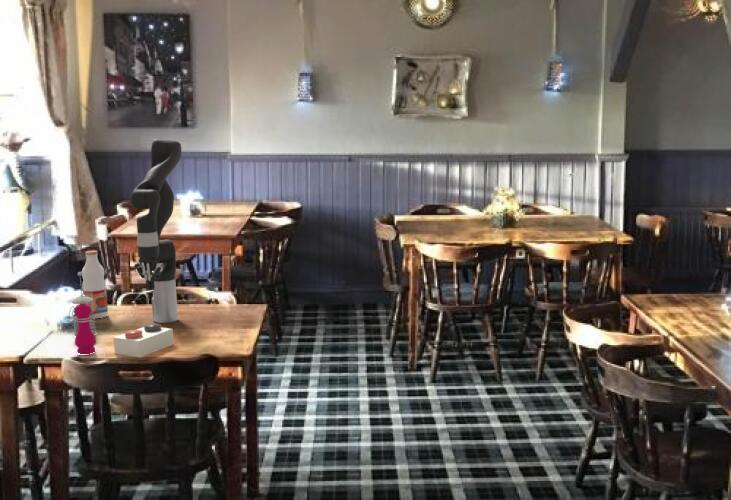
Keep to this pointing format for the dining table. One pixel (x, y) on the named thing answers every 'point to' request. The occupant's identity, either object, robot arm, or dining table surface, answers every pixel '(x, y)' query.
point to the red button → (133, 334)
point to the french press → (76, 301)
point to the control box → (143, 342)
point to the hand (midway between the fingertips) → (150, 289)
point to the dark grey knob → (152, 327)
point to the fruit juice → (95, 285)
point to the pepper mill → (84, 329)
